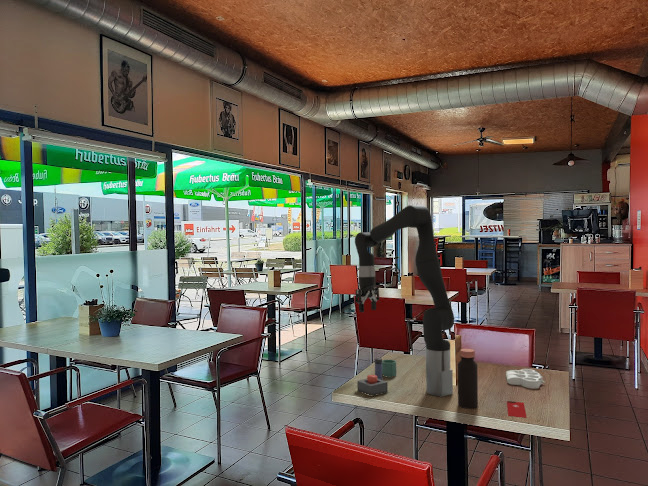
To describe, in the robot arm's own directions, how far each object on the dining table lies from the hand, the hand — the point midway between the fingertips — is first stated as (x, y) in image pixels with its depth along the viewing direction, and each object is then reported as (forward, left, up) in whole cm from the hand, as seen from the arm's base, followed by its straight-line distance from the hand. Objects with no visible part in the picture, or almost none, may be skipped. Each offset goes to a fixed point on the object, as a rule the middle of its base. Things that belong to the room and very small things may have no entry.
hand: (367, 311), depth 218 cm
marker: (-18, +9, -27) cm, 34 cm away
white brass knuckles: (-52, -42, -28) cm, 72 cm away
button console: (-25, +18, -27) cm, 41 cm away
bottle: (-57, 0, -27) cm, 63 cm away
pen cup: (-12, -2, -27) cm, 30 cm away
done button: (-25, +18, -24) cm, 39 cm away
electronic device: (-69, -11, -28) cm, 75 cm away
